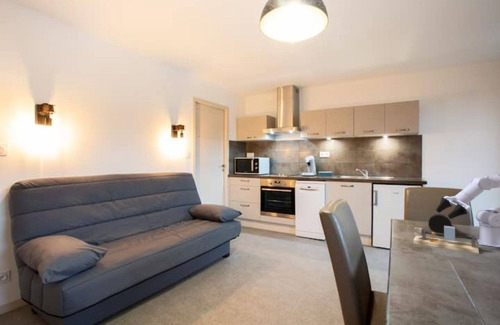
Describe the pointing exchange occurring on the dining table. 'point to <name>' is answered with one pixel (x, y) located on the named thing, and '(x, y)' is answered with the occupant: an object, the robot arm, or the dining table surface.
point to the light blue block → (449, 233)
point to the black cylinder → (439, 223)
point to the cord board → (445, 241)
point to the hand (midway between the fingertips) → (442, 214)
